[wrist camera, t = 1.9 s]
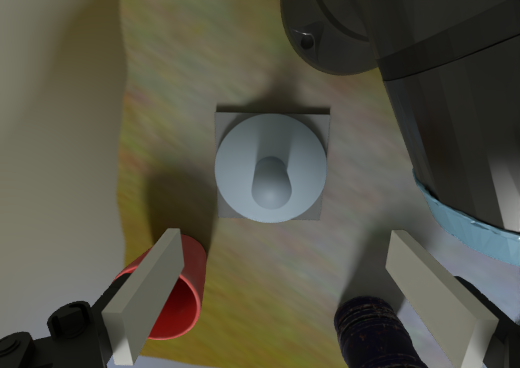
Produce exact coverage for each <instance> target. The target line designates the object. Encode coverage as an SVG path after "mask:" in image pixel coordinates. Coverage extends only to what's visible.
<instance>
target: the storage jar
mask: <svg viewBox="0 0 520 368" xmlns="http://www.w3.org/2000/svg"><path fill="white" fill-rule="evenodd" d="M334 326H335V329H336V332H337V337H338V342H339V345H340V349H341V353H342V356H343V358H344V360H345V362H346V364H347V365H348V367H349V368H428V367H427V365H426V364H425V363H423V362H422V361H421V359H420V357H419V356H418V354H417V352H416V351H415V349H414V347H413V344H412V340H411V338H410V336H409V333H408V332H407V331H406V329H405V328H404V326H403V324H402V323H401V321H400V320H399V318H398V317H397V316H396V315H395V313H394V311H393V309H392V308H391V306H390V305H389V304H388V303H387V302H385V301H384V300H382V299H380V298H377V297H372V296H361V297H357V298H353V299H351V300H349V301H347V302H345V303H344V304H343V305H342V306H341V307H340V308H339V309H338V310H337V312H336V314H335V317H334Z"/></svg>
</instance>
